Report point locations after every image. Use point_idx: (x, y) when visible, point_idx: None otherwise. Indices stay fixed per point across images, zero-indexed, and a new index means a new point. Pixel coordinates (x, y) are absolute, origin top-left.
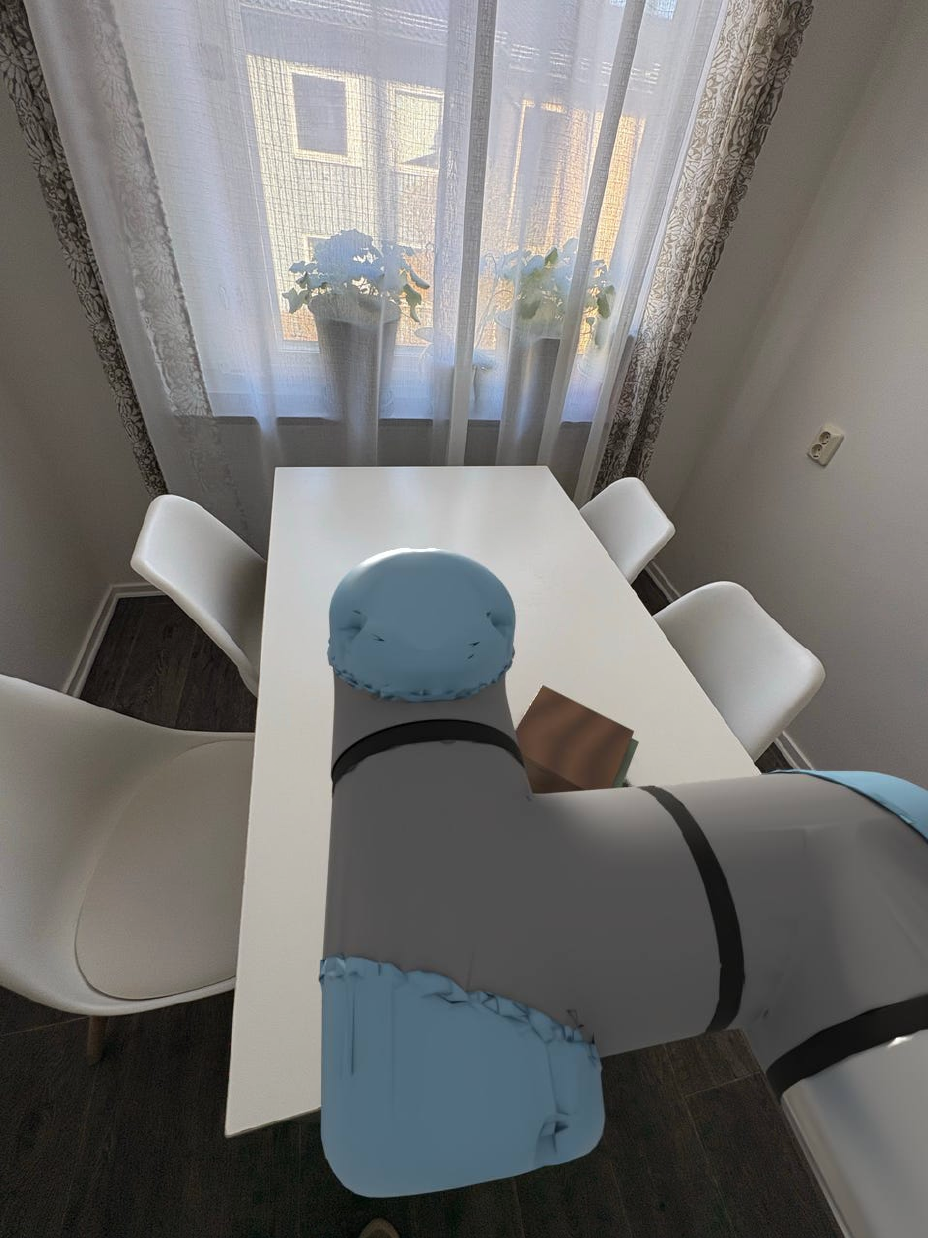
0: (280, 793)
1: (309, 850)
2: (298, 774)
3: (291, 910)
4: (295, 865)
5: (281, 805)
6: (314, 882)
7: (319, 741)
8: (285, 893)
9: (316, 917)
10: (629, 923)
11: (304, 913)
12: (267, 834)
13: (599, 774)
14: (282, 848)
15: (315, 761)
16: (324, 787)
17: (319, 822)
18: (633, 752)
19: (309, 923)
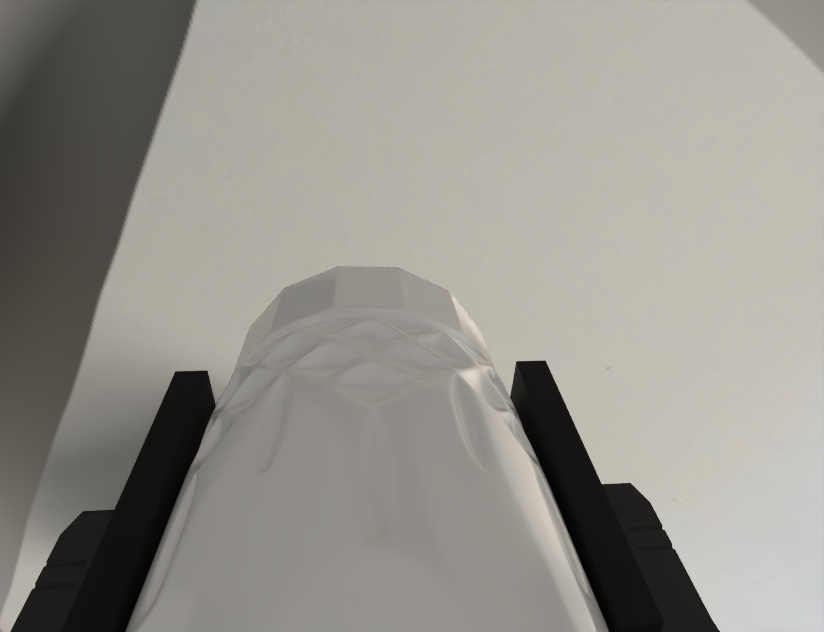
0: (820, 145)
1: (669, 128)
2: (811, 199)
3: (606, 20)
4: (673, 84)
5: (799, 132)
6: (609, 99)
7: (818, 272)
8: (646, 29)
9: (549, 61)
10: None
11: (577, 42)
12: (782, 68)
13: None
14: (727, 80)
15: (796, 243)
16: (738, 227)
17: (694, 179)
18: None
19: (552, 40)
